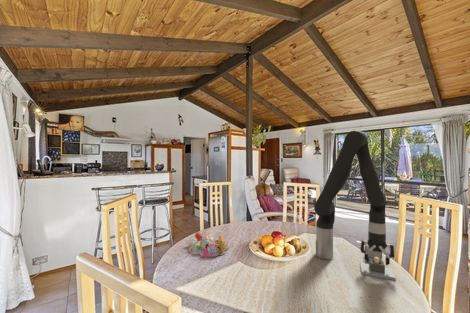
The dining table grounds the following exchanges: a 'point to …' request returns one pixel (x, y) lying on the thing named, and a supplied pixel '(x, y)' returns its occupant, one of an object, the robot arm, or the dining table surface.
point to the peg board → (366, 270)
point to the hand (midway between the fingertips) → (376, 262)
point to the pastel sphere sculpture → (208, 246)
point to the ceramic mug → (373, 253)
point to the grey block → (377, 266)
